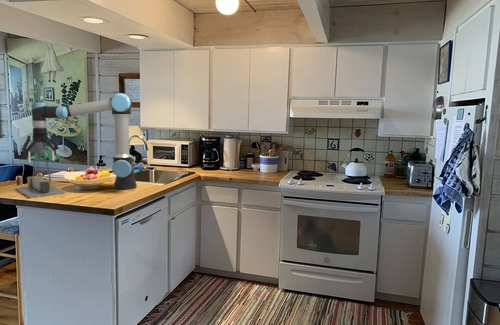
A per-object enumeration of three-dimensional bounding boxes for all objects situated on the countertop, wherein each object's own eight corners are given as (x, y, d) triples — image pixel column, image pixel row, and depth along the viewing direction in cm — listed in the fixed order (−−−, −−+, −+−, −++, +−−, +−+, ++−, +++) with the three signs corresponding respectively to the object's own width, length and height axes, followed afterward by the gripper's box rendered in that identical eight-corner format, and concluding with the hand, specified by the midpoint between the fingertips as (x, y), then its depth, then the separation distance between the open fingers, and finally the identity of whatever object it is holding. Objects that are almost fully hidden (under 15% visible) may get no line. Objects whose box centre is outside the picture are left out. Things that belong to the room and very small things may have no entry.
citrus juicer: (51, 182, 260) (49, 141, 256) (39, 185, 250) (37, 142, 246) (38, 181, 263) (36, 140, 259) (26, 184, 253) (24, 141, 249)
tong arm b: (32, 187, 234) (32, 178, 234) (36, 187, 236) (35, 178, 235) (42, 192, 222) (42, 182, 221) (46, 192, 223) (45, 182, 222)
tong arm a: (36, 186, 236) (36, 178, 235) (40, 186, 238) (39, 177, 237) (46, 192, 223) (45, 182, 222) (49, 191, 225) (49, 182, 224)
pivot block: (27, 187, 238) (27, 175, 237) (39, 186, 243) (38, 174, 242) (30, 188, 234) (29, 177, 233) (42, 187, 239) (41, 175, 238)
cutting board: (15, 189, 234) (15, 188, 234) (48, 186, 249) (48, 184, 249) (29, 198, 214) (29, 196, 214) (65, 193, 229) (65, 191, 228)
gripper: (58, 127, 234) (60, 159, 237) (14, 127, 216) (16, 162, 219) (63, 127, 229) (64, 160, 232) (18, 128, 210) (20, 163, 213)
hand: (41, 161), depth 225 cm, fingers open, 13 cm apart
